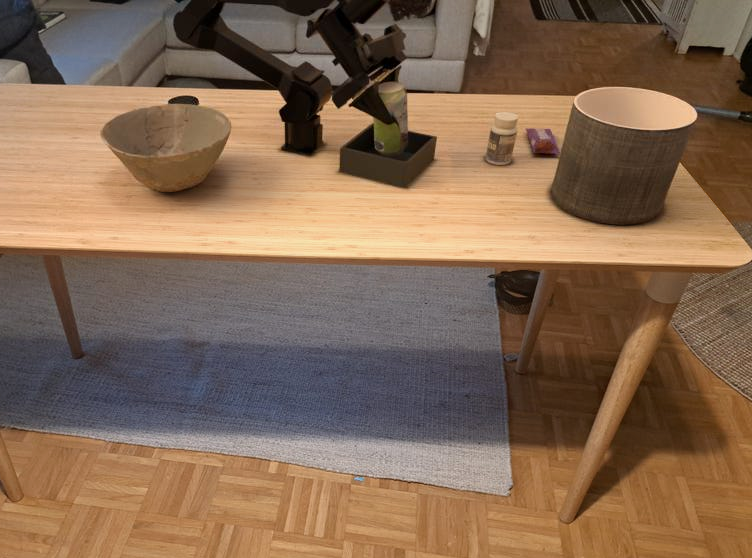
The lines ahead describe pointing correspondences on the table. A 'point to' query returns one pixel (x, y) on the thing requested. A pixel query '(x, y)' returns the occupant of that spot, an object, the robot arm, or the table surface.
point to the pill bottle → (502, 138)
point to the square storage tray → (387, 158)
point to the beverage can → (395, 134)
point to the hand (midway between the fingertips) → (397, 118)
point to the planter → (621, 154)
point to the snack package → (542, 141)
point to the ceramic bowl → (168, 143)
